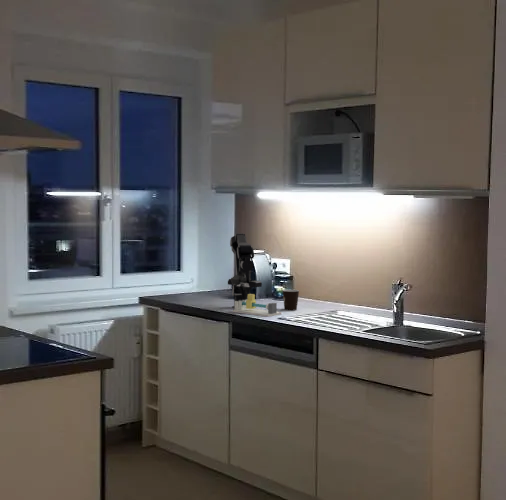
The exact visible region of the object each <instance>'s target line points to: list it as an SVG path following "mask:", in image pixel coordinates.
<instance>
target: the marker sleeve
mask: <svg viewBox="0 0 506 500" xmlns="http://www.w3.org/2000/svg"><path fill="white" fill-rule="evenodd" d="M255 297H256V295H255V293H250V294H248V296H247V299H248V301H246V309H257V307H254V306H252V303H256V304H257V301H256V298H255Z"/></svg>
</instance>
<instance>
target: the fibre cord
mask: <svg viewBox="0 0 506 500" xmlns="http://www.w3.org/2000/svg"><path fill="white" fill-rule="evenodd" d="M242 305H246V302H242ZM252 306H254V307H256V308H261V309H262V308H265V310H268V313H269V314H274V313H277V312H278V309H277V308H278V307H277V302H269V303H266V304H263V303H257V302H256V303H252Z"/></svg>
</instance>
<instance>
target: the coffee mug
mask: <svg viewBox="0 0 506 500" xmlns="http://www.w3.org/2000/svg"><path fill="white" fill-rule="evenodd" d="M299 294H300V290H298V289H283V290H282V298H283V308H284V311H297V309H298V302H299Z"/></svg>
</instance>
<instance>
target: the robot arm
mask: <svg viewBox="0 0 506 500" xmlns="http://www.w3.org/2000/svg"><path fill="white" fill-rule="evenodd" d="M247 240H248V239H247V236H246V234H245V233H242V232H240V233H239V232H238V233H235V234H234V236H231V237H230V241H229V245H230V246H229V247H231V251H232V253H233V255H234V262H235V264H234V265H235V275H234V276H232V277H231V278H229V279H228V280H227V285H229V286H232V291H231V293H232V294H231V295H232V297H233V302H234V303H233V304H234V305H233V306H231V307H232V308H235V301H242V300H246V299H248V294H251V290H252V288H260V287H262V285H263V284H262V281H261V280H252V279H251V274H252V273H253V271H252V270H253V268H254V263H253V261H252V259H255V258H254V257H255V252H254V248H253V246H252V245H251V244H250V243H248V242H247Z"/></svg>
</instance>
